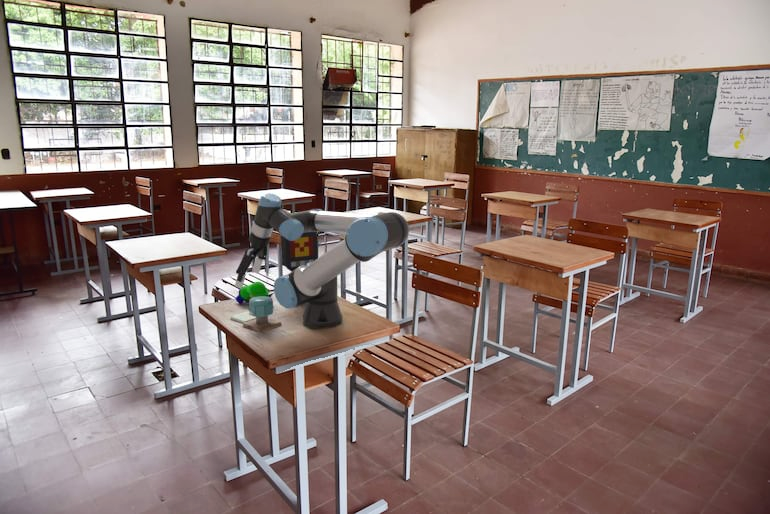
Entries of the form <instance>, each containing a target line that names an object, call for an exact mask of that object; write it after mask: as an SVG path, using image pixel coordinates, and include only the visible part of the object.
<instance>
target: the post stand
mask: <svg viewBox="0 0 770 514" xmlns="http://www.w3.org/2000/svg"><path fill="white" fill-rule="evenodd" d="M280 326H282V321H280V320H277V319H273V318H271V317H269V315H268V316H265V317H256V319H254V320H251V321H248V322H245V323H242V327H245V328H247V329H249V328H250V330H252V331H255V332H258V333H262V332H265V331H268V330H271V329H273V328H276V327H280Z"/></svg>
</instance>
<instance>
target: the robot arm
mask: <svg viewBox="0 0 770 514" xmlns="http://www.w3.org/2000/svg"><path fill="white" fill-rule="evenodd" d="M251 223H252V225H251V230H250V231H249V236H248V242H249V244H251V245H249V248H246V249H245V252H244V254H243V256H242V259H241V260H240V263H239V265H238V267H237V269H236V271H235V274H237V276H236V279H235V283H234V287H236V288H237V289H242V287H243V286H244V283H245V279H246V276H247V272H248V269H249V268H250V266H251V265H252V262H253V261H254V263H253V266H252V270H251V271H252V272H253V273H255V274H257V275H259V274H260V271H261V268H262V265H263V261H265V260H267V255H268V245H270V244H269V243H270V241H271V236H272V234H273V231H274V230H275V231H276V232H277V233H278V234H279V235H280V237H281V236H283V237H285V238H286V239H288V240H289V241H295V240H296V239H297V238H300V236H301V235H302V234H303V232H307V231H317V232H323V233H333V234H342V235H344V239H343V240H341V241H340V242H338V243H336V244H335V245H334V246H333V247H331V248H330V249H329V250H328V251H326V252H325V253H323V254H322V255H320V256H318V259H316V260H315V261H313V262H310V263H307V264H306V266H305V265H303V266H299V267H298V268H296V269H295V270H293V271H292V272H291V271H290V272H289V273H287V274H286V275H280V276H279V277H277V278H276V279H275V280H274V283H273V293H274V297H275V299H276V300H277V302H278V303H279V305H280V306H282V307H283V308H284V309H292V308H293V309H294V308H296V307H298V306H300V305H304V304H306V306H305V308H304V313H303V315H302V325H304V326H305V327H307V328H311V329H319V330H321V329H330V328H334V327H338V326H340V325H341V324H343V321H344V320H343V314H342V312H341V309H340V305H339V302H338V299H339V298H338V276H339V275H340V274H342V273H344V272H345V271H346V270H348V269H350V268H351V267H353V266H355V265H356V264H357V263H359V262H362V263H367V262H369V261H370V260H372V259H373V258H375V257H376V256H378V255H379V254H381V253H383V252H386V251H389V250H392V249H395V248H398V247H401V246H402V245H403V244H404V243H405V242H406V241H407V239H408V237H409V233H410V228H409V227H410V226H409V223H408V221H407V219H406V217H404V216H403V215H402V214H400V213H398V212H394V211H393V212H391V211H389V212H383V211H381V212H380V211H379V212H377V213H375V214H368V213H367V214H366V213H354V212H340V211H329V210H328V211H327V210H323V209H321V208H312V209H310V210H303V211H298V212H292V213H291V212H290V213H289V212H288V211H286V210H285V209H284V208H282V199H281V197H280V196H279V195H277V194H275V193H270V192H267V193H263V194H262V195H261V196H260V198H259V201H258V203H257V208H256V212H255V215H254V218H253V220H252V221H251Z"/></svg>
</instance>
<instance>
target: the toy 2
mask: <svg viewBox="0 0 770 514" xmlns="http://www.w3.org/2000/svg"><path fill="white" fill-rule="evenodd" d="M280 246H281V247H280V251H281V265H282V266H283V267H285V268H286V269H287V270H289V271H290V273H291V272H292V271H293V270H295V269H296V268H298V267H299V266H303V265H305V266H306V264H307V263H310V262H313V261H315V260H316V259H318V258H319V256H318V255H319V251H318V248H319V247H318V231H307V232H303V234H302V235H301V236H300V238H297V239H296V240H295V241H289V240H288V239H286V238H285V237H283V236H281V235H280Z"/></svg>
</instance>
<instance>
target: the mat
mask: <svg viewBox="0 0 770 514" xmlns="http://www.w3.org/2000/svg"><path fill="white" fill-rule="evenodd" d="M229 317H230V320H232V321H236V322H238V323H240V324H243V323H245V322H248V321H251V320H254V319H256V317H254V316H250V315H249V310H247V311H244V312H241V313H237V314H234V315H231V316H229Z"/></svg>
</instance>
